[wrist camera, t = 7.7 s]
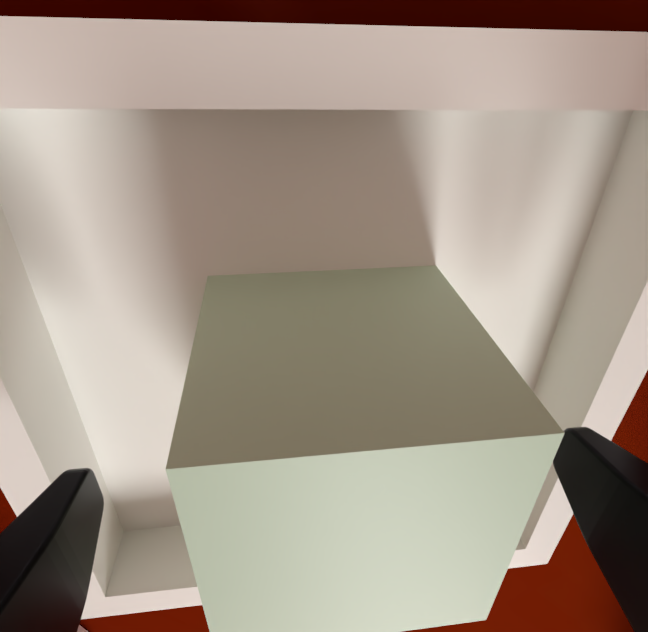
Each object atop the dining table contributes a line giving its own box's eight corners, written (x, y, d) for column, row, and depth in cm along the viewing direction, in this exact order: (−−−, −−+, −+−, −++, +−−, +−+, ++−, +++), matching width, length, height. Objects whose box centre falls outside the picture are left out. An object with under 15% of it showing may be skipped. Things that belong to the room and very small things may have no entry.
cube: (410, 425, 13) (485, 619, 8) (231, 440, 12) (216, 657, 8) (435, 265, 10) (564, 433, 6) (207, 275, 9) (164, 469, 5)
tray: (509, 494, 16) (547, 563, 14) (103, 535, 14) (76, 620, 12) (682, 36, 9) (819, 36, 6) (-115, 17, 7) (-276, 8, 5)
